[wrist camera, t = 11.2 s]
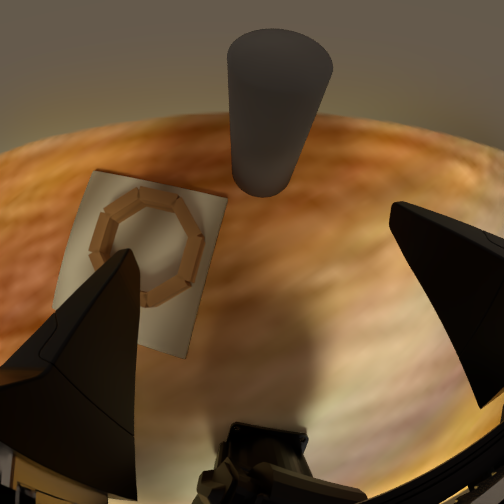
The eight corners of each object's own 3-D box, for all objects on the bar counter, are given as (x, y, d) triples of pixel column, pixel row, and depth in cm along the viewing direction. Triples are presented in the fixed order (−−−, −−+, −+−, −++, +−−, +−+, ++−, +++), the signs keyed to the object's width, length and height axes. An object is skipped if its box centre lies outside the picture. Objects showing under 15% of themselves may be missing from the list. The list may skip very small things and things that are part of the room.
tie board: (227, 200, 24) (226, 189, 21) (186, 357, 21) (179, 364, 19) (95, 172, 24) (83, 161, 21) (54, 308, 21) (39, 307, 19)
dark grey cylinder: (296, 153, 25) (336, 43, 12) (284, 204, 24) (327, 106, 11) (241, 139, 25) (243, 22, 12) (225, 189, 24) (212, 80, 11)
